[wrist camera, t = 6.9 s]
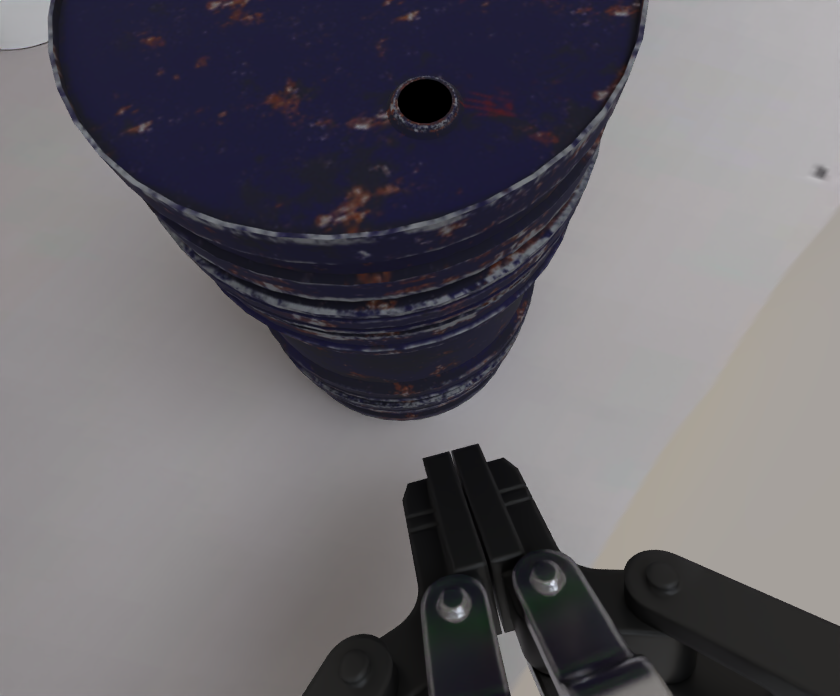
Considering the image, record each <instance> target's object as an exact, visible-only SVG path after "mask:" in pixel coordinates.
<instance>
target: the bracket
mask: <svg viewBox="0 0 840 696" xmlns="http://www.w3.org/2000/svg"><path fill="white" fill-rule="evenodd" d="M50 2H51V0H0V49H6V50H11V49H21V48H27V47H31V46H36V45H39V44H42V43H45V42H47V41H48V13H49V7H50Z"/></svg>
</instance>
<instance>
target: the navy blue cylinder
mask: <svg viewBox="0 0 840 696" xmlns="http://www.w3.org/2000/svg"><path fill="white" fill-rule="evenodd" d="M648 2H649V0H51V2H50V7H49V13H48V53H49V57H50V61H51V65H52V69H53V74H54V78H55V82H56V86H57V89H58V91H59V93H60V96H61V98H62V100H63V102H64V104H65V106H66V108H67V110H68V112H69V114H70V116H71V118H72V120H73V122H74V124H75V125H76V126H77V128H78V129H79V130H80V132H81V133H82V134H83V135H84V137H85V138H86V139H87V140H88V142H89V143H90V144H91V146H92V147H93V148H94V149H95V151H96V152H97V153H98V154H99V156H100V157H101V158H102V159H103V160H104V161H105V162H106V163H107V164H108V165H109V166H110V167H111V168H112V169H113V170H114V171H115V172H116V174H117V175H118V176H119V177H120V178H121V179H122V180H123V181H124V182H125V183H126V184H127V185H128V186H129V187H130V188H131V189H132V190H134V191H135V192H136V193H137V194H138V195H139V196H141V197H142V198H143V200H144V201H145V202H146V203H147V205H148V206H149V207H150V209H151V210H152V211H153V212H154V213H155V214H156V216H157V218H158V219H159V221H160V223H161V224H162V225H163V226H164V228H165V229H166V230H167V231H168V233H169V234H170V235H171V237H172V238H173V239H174V240H175V242H176V243H177V244H178V245H179V247H180V248H181V249H182V250H183V251H184V252H185V253H186V254H187V255H188V256H189V257H190V258H191V259H192V260H193V261H194V262H195V263H196V264H197V265H198V266H199V267H200V268H201V269H202V270H203V271H204V272H205V273H206V274H207V275H208V276H210V277H211V278H212V279H213V280H214V281H215V282H216V284H217V285H218V286H219V287H220V289H221V290H222V291H223V292H224V293H225V294H226V295H227V296H228V297H229V298H230V299H232V300H233V301H234V302H235V303H236V304H237V305H238V306H239V307H241V308H242V309H243V310H244V311H245V312H246V313H248V314H249V315H251V316H253V317H254V318H256V319H258V320H259V321H261V322H262V323H264V324H266V325H267V326H268V327H269V329H270V331H271V333H272V334H273V336H274V337H275V338H276V339H277V341H278V342H279V343H280V345H281V346H282V348H283V350H284V351H285V353H286V354H287V355H288V356H289V358H290V359H291V360H292V361H293V363H294V364H295V365H296V366H297V367H298V368H299V369H300V370H301V371H302V372H303V374H305V375H306V376H307V377H308V378H309V379H310V380H311V381H313V382H314V383H315V384H316V385H317V386H318V387H320V388H321V389H323V390H324V391H326V392H327V393H328V394H329V395H330V396H331V397H332V398H334V399H335V400H337V401H338V402H340V403H341V404H343V405H345V406H346V407H348V408H350V409H352V410H354V411H357V412H359V413H362V414H364V415H367V416H371V417H375V418H380V419H385V420H398V421H405V420H417V419H423V418H427V417H431V416H436V415H439V414H441V413H444V412H446V411H449V410H451V409H453V408H455V407H457V406H459V405H460V404H462V403H464V402H465V401H467V400H469V399H470V398H471V397H472V396H474V395H475V394H476V393H477V392H478V391H479V390H481V389H482V388H483V387H484V386H485V385H486V384H487V382H488V381H489V380H490V379H491V378H492V376H493V375H494V374H495V373H496V371H497V369H498V368H499V366H500V364H501V362H502V361H503V360H504V358H505V357H506V355H507V354H508V352H509V350H510V349H511V347H512V345H513V343H514V342H515V340H516V338H517V336H518V333H519V331H520V329H521V326H522V324H523V322H524V319H525V317H526V314H527V311H528V308H529V305H530V302H531V297H532V294H533V288H534V283H535V280H536V279H537V277H538V276H539V275H540V274H541V273H542V272H543V270H544V269H545V268H546V267H547V265H548V264H549V262H550V260H551V259H552V257H553V255H554V254H555V252H556V250H557V249H558V247H559V245H560V244H561V242H562V240H563V237H564V234H565V232H566V229H567V226H568V224H569V221H570V219H571V217H572V215H573V214H574V212H575V209H576V207H577V205H578V203H579V201H580V199H581V196H582V194H583V192H584V190H585V188H586V186H587V183H588V180H589V178H590V175H591V172H592V170H593V167H594V164H595V161H596V159H597V156H598V152H599V146H600V140H601V137H602V134H603V132H604V129H605V126H606V124H607V121H608V120H609V118H610V116H611V115H612V113H613V111H614V109H615V106H616V104H617V102H618V100H619V97H620V95H621V93H622V90H623V88H624V86H625V84H626V81H627V79H628V77H629V74H630V72H631V69H632V66H633V64H634V61H635V58H636V56H637V53H638V50H639V48H640V45H641V42H642V40H643V35H644V28H645V22H646V15H647V9H648Z"/></svg>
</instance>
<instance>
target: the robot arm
mask: <svg viewBox="0 0 840 696" xmlns="http://www.w3.org/2000/svg"><path fill="white" fill-rule="evenodd" d="M451 453H452V458H453V461H452V458H451V455H450V452H449V451H448V452H445V453H441V454H437V455H433V456H430V457H426V458H422V459H423V462H424V466H425V470H426V474H427V479H423V480H420V481H416V482H412V483H409V484H407V488H406V491H405V494H404V497H403V500H402V501H403V506H404V512H405V517H406V523H407V528H408V533H409V539H410V544H411V550H412V555H413V561H414V566H415V571H416V577H417V582H418V597H417V602H416V604H415V607H414V608H413V610H412V612H411V613H410V615H409V616H408V617H407V619H406V620H405V621H403V622H402V623H401V624H400V625H399V626H397V627H396V628H395V629H393V630H392V631H390V632H388V633H387V634H385V635H384V636H382V637H381V638H378V637H376V636H373V635H369V634H358V635H354V636H351V637H349V638H347V639H345V640H343V641H341V642H340V643H339V644H338V645H336V646H335V647H334V648H333V649H332V651H331V652H330V653H329V655H328V656H327V657H326V659H325V661H324V662H323V664H322V665H321V667H320V668H319V670H318V671H317V673H316V675H315V676H314V678H313V679H312V681H311V682H310V684H309V685H308V687H307V689H306V690H305V692H304V693H303V695H302V696H511V695H510V691H509V687H508V682H507V678H506V673H505V669H504V665H503V660H502V656H501V652H500V647H499V643H498V638H497V635H499V634H502V631H501V627H500V622H499V617H498V613H499V616H500V619H501V622H502V626H503V629H504V632H505V633H507V632H510V631H514V630H515V632H516V635H517V637H518V640H519V643H520V646H521V649H522V652H523V654H524V656H525V658H526V659H527V664H528V667H529V669H530V671H531V674H532V676H533V678H534V681H535V683H536V685H537V688H538V690H539V692H540V694H541V696H840V626H838V625H836V624H833V623H831V622H829V621H827V620H824V619H821V618H819V617H817V616H815V615H813V614H811V613H808V612H806V611H804V610H801V609H799V608H797V607H795V606H792V605H790V604H788V603H786V602H783V601H781V600H779V599H776V598H774V597H772V596H770V595H767V594H765V593H763V592H760V591H758V590H756V589H753V588H751V587H749V586H746V585H744V584H742V583H740V582H738V581H735V580H733V579H731V578H728V577H726V576H724V575H722V574H719V573H717V572H715V571H712V570H710V569H708V568H705V567H703V566H701V565H699V564H696V563H694V562H692V561H689V560H687V559H685V558H683V557H680V556H678V555H676V554H673V553H670V552H666V551H661V550H648V551H643V552H640V553H638V554H636V555H634V556H633V557H632V558H631V559H629V561H628V562H627V564H626V566H625V568H624V570H606V569H605V570H604V569H592V568H587V567H583V566H581V565H578V564H576V563H575V562H574V561H573V560H572V559H571V558H570V557H569V556H567V555H566V554H564V553H562V552H561V551H560V550H559V549H558V547H557V545H556V543H555V541H554V539H553V537H552V535H551V533H550V531H549V529H548V527H547V525H546V523H545V521H544V519H543V517H542V515H541V513H540V511H539V509H538V507H537V505H536V503H535V501H534V500H533V498H532V496H531V494H530V492H529V490H528V488H527V487H526V484H525V482H524V480H523V478H522V476H521V474H520V472H519V470H518V468H516V467H515V466H514V465H512V464H511V463H510V462H509V461H507V460H506V459H505V458H501V459H497V460H493V461H490V462H486V460H485V457H484V455H483V453H482V450H481V448H480V446H479V444H475V445H471V446H467V447H463V448H460V449H456V450H452V451H451ZM453 462H454V464H453ZM496 607H497V608H496ZM497 610H498V612H497Z"/></svg>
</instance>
